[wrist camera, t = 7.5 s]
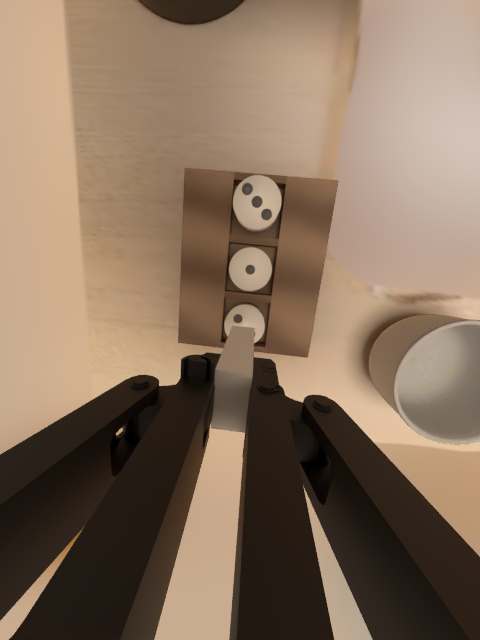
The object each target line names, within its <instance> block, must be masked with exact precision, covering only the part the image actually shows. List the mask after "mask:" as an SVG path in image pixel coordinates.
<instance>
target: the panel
mask: <svg viewBox="0 0 480 640" xmlns="http://www.w3.org/2000/svg"><path fill="white" fill-rule="evenodd" d="M253 175H263V176H266V177H268V178H270V179H271V180H273V181H274V182H275V183H276V185H277V186H278V188H279V190H280V193H281V208H280V211H279V213H278V216H277V218H276V220H275V222H274V223H273V225H272V226H271V227H270V228H268V229H267V230H265V231H262V232H251V231H248V230H246V229H245V228H243V227H242V226H241V225H240V223H239V221H238V219H237V217H236V214H235V211H234V208H233V196H234V193H235V190H236V188H237V187H238V185H239V184H240V183H241V182H242V181H243V180H244V179H246V178H248V177H250V176H253ZM337 186H338V181H337V180H325V179H313V178H300V177H288V176H276V175H264V174H252V173H240V172H227V171H215V170H203V169H191V168H185V176H184V202H183V229H182V256H181V282H180V309H179V336H178V343H185V344H194V345H202V346H211V347H220V348H224V346H225V343H226V340H227V338H228V337H227V335H226V333H225V329H224V323H225V319H226V317H227V315H228V313H229V312H230V310H231V309H232V308H233V307H234V306H235V305H237V304H239V303H243V302H248V303H252V304H254V305H256V306H257V307H258V308H259V309H260V310H261V312H262V314H263V317H264V323H265V329H264V333H263V335H262V337H261V338H260V339H259V340H258V341H257V342H256V343H254V351H255V352H264V353H273V354H281V355H290V356H299V357H308V353H309V347H310V341H311V336H312V330H313V324H314V318H315V313H316V307H317V301H318V295H319V290H320V284H321V278H322V272H323V267H324V261H325V255H326V249H327V244H328V238H329V232H330V226H331V221H332V214H333V209H334V203H335V197H336V192H337ZM248 247H254V248H258V249H260V250H262V251H263V252H264V253H266V255H267V256H268V257H269V259H270V261H271V265H272V273H271V277H270V279H269V281H268V282H267V284H266V285H265V286H263V287H262V288H260V289H258V290H255V291H245V290H242V289H240V288H238V287H237V286H236V285H235V284H234V283H233V281H232V280H231V277H230V274H229V265H230V261H231V259H232V257H233V256H234V255H235V254H236V253H237V252H238V251H239V250H241V249H244V248H248Z"/></svg>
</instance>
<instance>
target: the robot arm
mask: <svg viewBox="0 0 480 640" xmlns="http://www.w3.org/2000/svg"><path fill="white" fill-rule="evenodd" d="M140 1H141V2H142V3H143V4H144V5H145V6H147V7H148V8H149V9H151V10H152V11H154V12H155V13H157V14H159V15H161V16H163V17H165V18H168V19H171V20H174V21H178V22H186V23H196V22H203V21H208V20H211V19H214V18H217V17H219V16H221V15H223V14H225V13H227V12H228V11H230V10H231V9H233V8H234V7H236V6H237V5H238V4H239V3H240V2H241V1H243V0H140ZM254 330H255V328H251V327H242V326H233V325H232V327H231V330H230V333H229V335H228V338H227V340H226V343H225V346H224V348H223V351H222V353H221V354H215V353H205V354H203V355H189V356H186V357H184V358H183V359H181V378H180V380H179V382H178V383H177V384H176V385H170V386H159V380H158V379H157V378H155V377H153V376H149V375H138V376H134V377H131V378H129V379H127V380H125V381H123V382H121V383H120V384H118V385H116V386H115V387H113V388H111V389H110V390H108V391H106V392H105V393H103V394H101V395H100V396H98V397H96V398H95V399H93V400H91V401H90V402H88V403H86V404H85V405H83V406H81V407H80V408H78V409H76V410H74V411H73V412H71V413H69V414H68V415H66V416H64V417H63V418H61V419H59V420H58V421H56V422H54V423H53V424H51V425H49V426H48V427H46V428H44V429H43V430H41V431H40V432H38V433H36V434H34V435H32V436H31V437H29V438H27V439H26V440H25V441H23V442H21V443H19V444H17V445H16V446H14V447H12V448H11V449H9V450H7V451H6V452H4V453H2V454H1V455H0V620H1V619H2V618H3V617H4V616H5V615H6V613H7V612H8V611H9V610H10V609H11V608H12V607H13V606H14V605H15V603H16V602H17V601H18V600H19V599H20V598H21V597H22V595H24V593H25V592H26V591H27V590H28V589H29V588H30V587H31V586H32V584H33V583H34V582H35V581H36V580H37V579H38V578H39V577H40V575H41V574H42V573H43V572H44V571H45V570H46V569H47V568H48V566H49V565H50V564H51V563H52V562H53V561H54V560H55V559H56V558H57V556H58V555H59V554H60V553H61V552H62V551H63V550H64V549H65V547H66V546H67V545H68V544H69V543H70V542H71V541H72V540H73V538H74V537H75V536H76V535H77V534H78V533H79V532H80V530H82V528H83V527H84V526H85V527H84V528H83V530H82V532H81V533H80V535H79V536H78V538H77V539H76V541H75V542H74V544H73V546H72V547H71V549H70V550H69V552H68V553H67V555H66V556H65V558H64V560H63V561H62V563H61V564H60V566H59V567H58V569H57V570H56V572H55V573H54V575H53V576H52V578H51V580H50V581H49V583H48V584H47V586H46V587H45V589H44V590H43V592H42V593H41V595H40V597H39V598H38V600H37V601H36V603H35V604H34V606H33V607H32V609H31V610H30V612H29V614H28V615H27V617H26V618H25V620H24V621H23V623H22V624H21V625H20V627H19V628H18V629H17V631H16V632H15V634H14V635H13V636H12V637H11V638H10V639H9V640H154V638H155V634H156V631H157V627H158V623H159V619H160V616H161V612H162V609H163V605H164V601H165V597H166V593H167V590H168V586H169V583H170V579H171V575H172V571H173V568H174V564H175V560H176V557H177V553H178V549H179V546H180V542H181V538H182V534H183V531H184V527H185V523H186V519H187V516H188V512H189V508H190V505H191V501H192V497H193V494H194V490H195V486H196V483H197V479H198V475H199V472H200V468H201V464H202V461H203V457H204V453H205V449H206V446H207V442H208V438H209V428H210V423H211V428H214V429H222V430H229V431H237V432H245V440H244V449H243V466H242V479H241V492H240V506H239V519H238V533H237V546H236V559H235V573H234V586H233V600H232V613H231V626H230V639H229V640H334V637H333V632H332V627H331V622H330V617H329V612H328V607H327V602H326V597H325V592H324V587H323V582H322V577H321V572H320V567H319V562H318V558H317V552H316V547H315V542H314V538H313V533H312V528H311V523H310V518H309V513H308V508H307V503H306V498H305V493H304V488H305V490H306V492H307V495H308V497H309V499H310V501H311V503H312V506H313V508H314V510H315V512H316V514H317V517H318V519H319V521H320V523H321V525H322V528H323V530H324V532H325V535H326V537H327V539H328V541H329V543H330V545H331V548H332V550H333V552H334V554H335V557H336V559H337V561H338V563H339V566H340V568H341V570H342V572H343V574H344V577H345V579H346V581H347V583H348V586H349V588H350V590H351V592H352V594H353V597H354V599H355V601H356V603H357V606H358V608H359V610H360V612H361V614H362V617H363V619H364V621H365V623H366V625H367V628H368V630H369V632H370V634H371V637H372V639H373V640H480V557H479V556H478V555H477V554H476V553H475V551H474V550H473V549H472V548H471V547H470V546H469V545H468V544H467V543H466V542H465V541H464V539H463V538H461V536H460V535H459V534H458V533H457V532H456V531H455V530H454V529H453V528H452V526H451V525H450V524H449V523H448V522H447V521H446V520H445V519H444V518H443V517H442V516H441V515H440V514H439V512H437V510H436V509H435V508H434V507H433V506H432V505H431V504H430V503H429V502H428V501H427V500H426V499H425V497H424V496H423V495H422V494H421V493H420V492H419V491H418V490H417V489H416V488H415V487H414V486H413V485H412V484H411V482H410V481H409V480H408V479H407V478H406V477H405V476H404V475H403V474H402V473H401V472H400V470H398V468H397V467H396V466H395V465H394V464H393V463H392V462H391V461H390V460H389V459H388V458H387V456H386V455H385V454H383V452H382V451H381V450H380V449H379V448H378V447H377V446H376V445H375V444H374V442H373V441H372V440H371V439H370V438H369V437H368V436H367V435H366V434H365V433H364V432H363V431H362V430H361V428H360V427H359V426H358V425H357V424H356V423H355V422H354V421H353V420H352V419H351V418H350V417H349V416H348V414H347V413H346V412H345V411H344V410H343V409H342V408H341V407H340V406H339V405H338V404H337V403H336V402H334V401H333V400H331V399H329V398H327V397H325V396H321V395H309V396H307V397H305V399H304V402H303V403H302V402H299V401H295V400H293V399H290V398H289V397H287V396H285V393H284V390H283V388H282V387H281V386H280V385H279V382H278V376H277V371H276V365H275V363H274V362H273V361H272V360H271V359H264V358H255V357H253V356H254ZM122 427H123V431H122V432H121V433H120V434H119V435H117V436H116V433H117V432H118V430H119V429H120V428H122ZM303 486H304V488H303Z"/></svg>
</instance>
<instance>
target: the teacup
mask: <svg viewBox="0 0 480 640" xmlns="http://www.w3.org/2000/svg"><path fill="white" fill-rule="evenodd" d="M369 373H370V376H371V380H372V382H373V384H374V386H375V388H376V389H377V391H378V392H379V393H380V395H381V396H382V397H383V398H384V399H385V401H386V402H387V403H388V404H389V405H390V406H391V407H392V408H393V409H394V410H395V411H396V412H397V413H398V414H399V415H400V417H401V418H402V419H403V420H404V422H405V423H406V424H407V425H408V426H409V427H411V428H412V429H413V430H414V431H415V432H417V433H418V434H420V435H422V436H424V437H425V438H428V439H430V440H433V441H436V442H439V443H444V444H454V445H460V444H469V443H474V442H480V320H468V319H462V318H456V317H450V316H442V315H417V316H412V317H408V318H405V319H402V320H400V321H398V322H396V323H394V324H392V325H391V326H389V327H388V328H387V329H385V330H384V331H383V332H382V333H381V334H380V336H379V337H378V338H377V340H376V341H375V343H374V345H373V347H372V349H371V352H370V356H369Z"/></svg>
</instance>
